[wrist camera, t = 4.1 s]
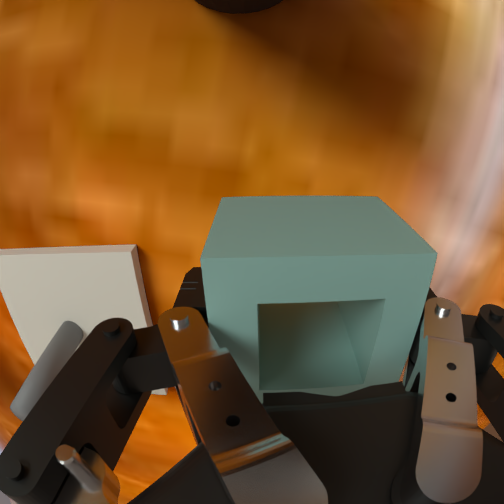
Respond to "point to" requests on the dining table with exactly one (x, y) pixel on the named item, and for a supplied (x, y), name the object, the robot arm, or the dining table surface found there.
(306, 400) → the robot arm
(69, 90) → the dining table surface
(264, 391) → the collar
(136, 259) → the post stand
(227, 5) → the coffee mug
